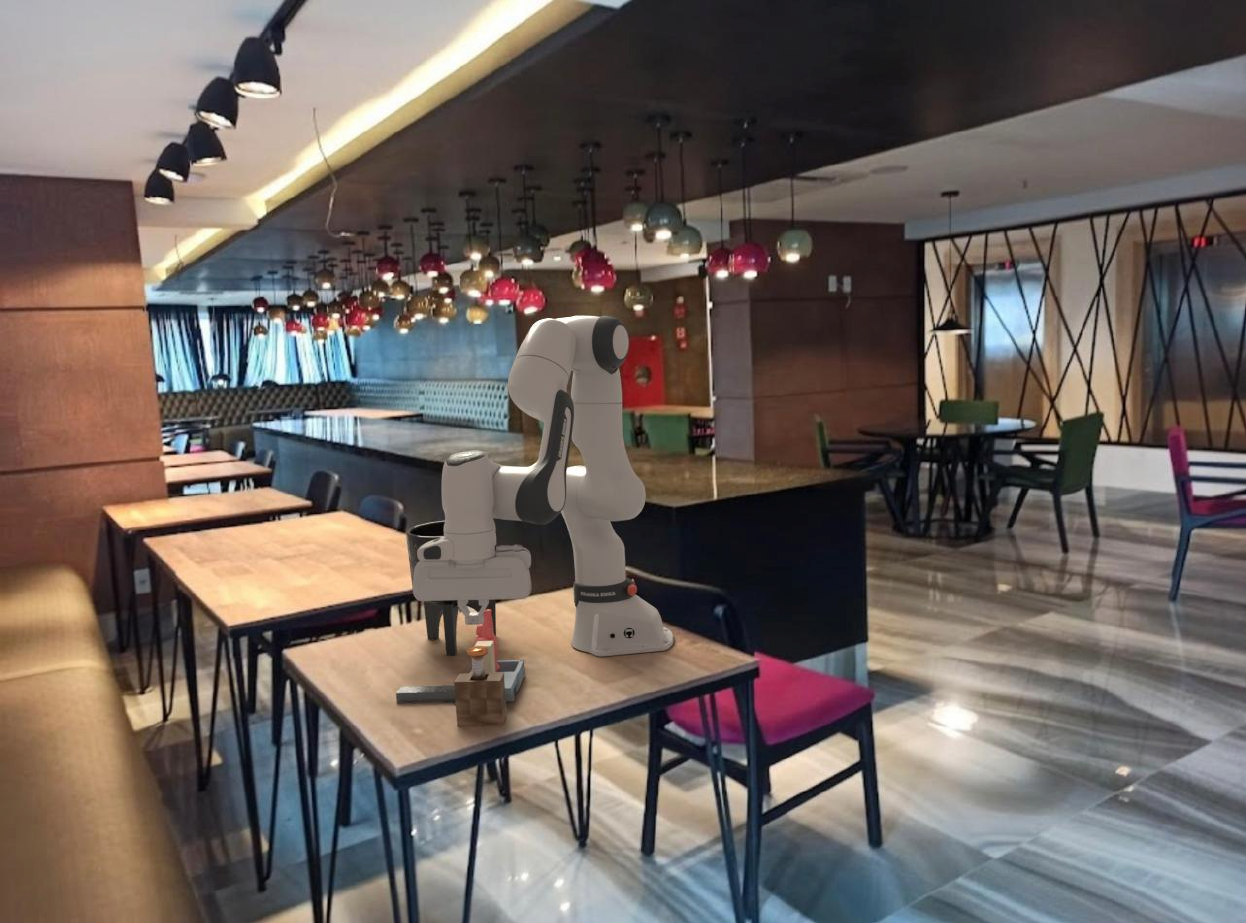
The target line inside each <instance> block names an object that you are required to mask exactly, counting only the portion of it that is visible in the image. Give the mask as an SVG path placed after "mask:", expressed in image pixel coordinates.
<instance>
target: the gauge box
mask: <svg viewBox="0 0 1246 923" xmlns="http://www.w3.org/2000/svg"><path fill="white" fill-rule="evenodd" d="M468 673H469V674H468ZM468 673H459V674H458V675H457V677H456V678H455V680H454V685H453V686H455V700H456V702H455V711H456V712H455V713H456V725H457V727H463V726H465V727H469V726H470V727H473V726H476V727H477V726H503V725H504V722H505V719H506V718H507V704H506V703H507V701H506V699H505V683H504V673H485V675H486V680H474V681H473V673H470V672H468Z"/></svg>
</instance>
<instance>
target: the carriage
mask: <svg viewBox="0 0 1246 923" xmlns="http://www.w3.org/2000/svg"><path fill="white" fill-rule="evenodd" d="M474 646H485V647H487V648H488V654H487V655H485V656H484V659H485V673H504V683H505V699H506V702H514V701H515V696H514V687H515V693H517V692H518V691H519V690H520V687H521V685H522V682H523V681H524V680H523V679H524V677H525V675H526V671H525V659H505V660H504V659H501V660H498V659H497V663H498V664H499V666H500V668H499V669H498V670H497V672H496V671H495V656H494V641H477V643H476V644H475V645H474ZM469 673H473V670H472V669H471V670H470V672H468V673H467V674H469Z"/></svg>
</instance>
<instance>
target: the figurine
mask: <svg viewBox="0 0 1246 923" xmlns="http://www.w3.org/2000/svg"><path fill="white" fill-rule="evenodd" d="M491 612H492V610H490V609H487V610H485V611H484V613H483V617H484V622H483V624H480V625H477V626H476V628H475V631H476V632H475V635H477V637H476V638H475V639H474V642H473V643H474V646H475V644H476V643H477V641H494V656H495V671H496V672H497V670H498V669H499V668H500V666H499V664H498V663H497V660H498V652H499V650H498V646H497V645H498V639H497V635H496V636H495V635H494V633H493V621H492V615H491Z"/></svg>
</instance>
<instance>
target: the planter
mask: <svg viewBox="0 0 1246 923" xmlns="http://www.w3.org/2000/svg"><path fill="white" fill-rule="evenodd" d="M444 524H445V520H441V521H440V520H439V521H433V522H432V521H431V522H427V523H422V524H418V525H415V526H412V527H409V529H406V531H405V538H406V546H407V553H408V554H407V555H408V561H409V562H408V563H409V570H410V578H411V586H412V589H413V577H414V569H415V566H416V565H417V563H418V562H419V561H421V560H419V559H418V557H417V551H418V549H419V548H420V547H421V546H422V545H424V544H425V543H427V542H429V541H432V540H435V539H437V538H441V537H444ZM466 606H467V607H468V608H470V609H472V610H474V611H475V612H479V611H480V609H481V607H482V606H479V600H468V603H467V604H466ZM423 608H424V616H425V627H426V635H427V640H436V639H438V638H440V624H441V619H443V630H444V643H445V656H456V655H457V653H458V649H457V648H458V646H457V645H458V644H457V626H458V625H457V624H458V615H459V610H460V609H459V607H458V600H441V601H423ZM487 609H490V610H492V612H491V615H492V621H493V633H494V635H495V636H496V637H497V624H496V623H497V621H496V620H497V619H496V618H497V616H496V599H492V600H489V604H488V605H487V607H486V609H485V610H487ZM442 617H443V618H442Z"/></svg>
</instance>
